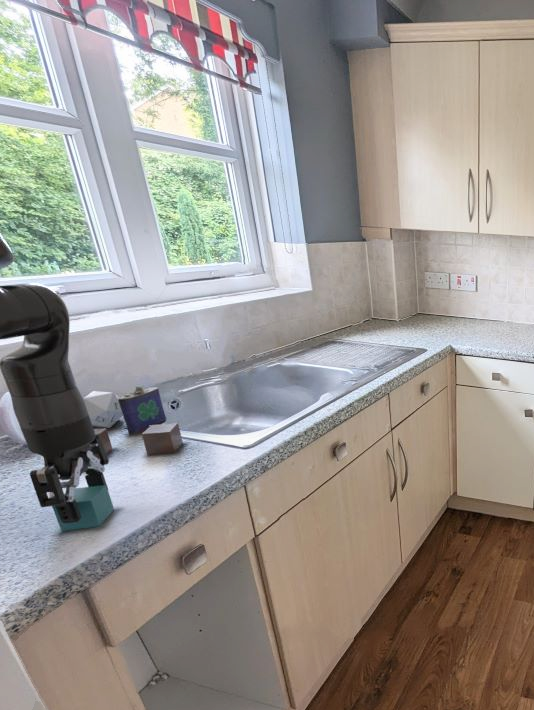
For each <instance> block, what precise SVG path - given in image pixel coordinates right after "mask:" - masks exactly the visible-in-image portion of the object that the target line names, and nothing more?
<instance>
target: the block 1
mask: <svg viewBox="0 0 534 710" xmlns="http://www.w3.org/2000/svg"><path fill="white" fill-rule="evenodd" d="M93 429H94V432H95V434H99V436H100V439H101V441H102V444H103V447H104V449H105V452H106V454H107V455H108V454H109V453H110V452H111V451H113V449H114V448H113V446H112V445H113V444H112V443H111V439H110V435H109V433H108V429H107V428H106V427H103V428H93ZM93 455H94V456H95V457H97V458H98V459H99V458H100V457H99V455H98V454H93Z"/></svg>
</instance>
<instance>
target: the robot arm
mask: <svg viewBox="0 0 534 710" xmlns="http://www.w3.org/2000/svg"><path fill="white" fill-rule="evenodd" d="M14 261H15V256H14V252H13V251H12V249H11V247H10V246H9V244H8V243H7V241H6V240H5V238H4V237H3V235H2V234H1V233H0V270H2V269H6V268H8V267H9V266H11V265H12V264H13V263H14ZM70 325H71V323H70V314H69V309H68V308H67V305H66V303H65V301H64V299H63V298H62V297H61V296H60V295H59V294H58V293H57V292H56V291H55V290H53V289H52V288H50V287H48V286H46V285H44V284H40V283H35V282H34V283H33V282H30V283H29V282H28V283H15V284H5V285H0V341H1V340H8V339H15V338H19V337H23V340H22V341H23V342H22V344H21V346H20V347H19V348H18V349H16V350H14V351H12V352H10V353H8V354H6V355H4V356H3V357H1V358H0V372H1V376H2V378H3V380H4V383H5V386H6V389H7V390H8V393H9V395H10V398H11V404H12V410H13V413H14V415H15V418H16V421H17V422H18V426H19V428H20V430H21V433H22V435H23V439H24V441H25V443H26V446H27V447H28V451H30V452H31V453H33V454H35V455H39V456H42V458H43V461H44V462H43V463H44V466H43V467H42V468H40V469H33V470H31V471H30V472H29V477H30V480H31V482H32V485H33V489H34V491H35V494H36V497H37V500H38V503H39V505H40V507H41V508H47V507H52V506H55V507H56V509H57V512H58V514H59V517H60V519H61V521H62V523H73V522H78V521H79V520H80V519H81V518H82V517H81V514H80V511H79V508H78V506H77V503H76V500H75V499H74V491H75V488H78V487H79V486H80V479H81V476H82V474H83V475H85V476H84V478H85V481H86V484H87V487H93V486H102V485H106V486H107V489H108V490H109V488H108V484H107V481H106V479H105V476H104V472H105V466H106V465H109V462H110V461H109V458H108V453H107V454H106V452H105V449H104V447H103V444H102V441H101V439H100V436H99V434H95V432H94V429H95V428H94V426H92V423H91V420H90V417H89V414H88V411H87V408H86V405H85V402H84V399H83V398H84V396H83V395H82V393H81V391H80V390H79V387H78V386H77V383H76V379H75V376H74V373H73V371H72V368H71V367H72V366H71V365H70V362H69V351H70ZM93 454H98V455H99V457H100V458H99V459H98V458H97V457H95V456H94V455H93ZM64 489H65V491H64ZM65 493H66V494H65ZM48 494H49V495H48ZM64 494H65V495H64Z"/></svg>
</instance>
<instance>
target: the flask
mask: <svg viewBox="0 0 534 710" xmlns="http://www.w3.org/2000/svg"><path fill="white" fill-rule="evenodd" d="M134 387H135V389H134V391H133V392H129V394H127V393H124V394H123V396H120V397H118V398H119V400H118V401H119V404H120V407H121V410H122V413H123V416H122V417H123V420H124V422H125V425H126V429H127V432H128V435H131V436H132V435H138V434H142V433H143V432H144V431H146V430H147V429H148V428H149V427H150V426H149V425H158V424H165V423H166V422H167V417H166V412H165V409H164V406H163V402H162V397H161V394H160V389H159V388H158V387H157V386H156V387H155V386H154V387H153V386H152V387H148V388H146V389H144V388H145V386H144V385H143V386H141V385H134Z"/></svg>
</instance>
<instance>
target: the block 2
mask: <svg viewBox="0 0 534 710" xmlns="http://www.w3.org/2000/svg"><path fill="white" fill-rule="evenodd" d="M141 438H142V441H143V444H144V449H145V452H146V455H147V456H150V455H162V454H172V453H173V454H174V453H176V452H177V451H178V449H179V448H180V447H181V446H182V445H183V442H184V441H183V437H182V433H181V429H180V424H179V422H173V423H162V424H158V425H151V426H150V427H149V428H148V429H147V430H146V431H144V432H142V433H141Z"/></svg>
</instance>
